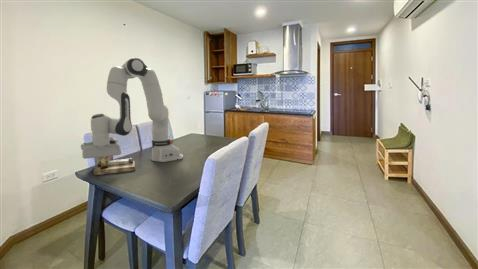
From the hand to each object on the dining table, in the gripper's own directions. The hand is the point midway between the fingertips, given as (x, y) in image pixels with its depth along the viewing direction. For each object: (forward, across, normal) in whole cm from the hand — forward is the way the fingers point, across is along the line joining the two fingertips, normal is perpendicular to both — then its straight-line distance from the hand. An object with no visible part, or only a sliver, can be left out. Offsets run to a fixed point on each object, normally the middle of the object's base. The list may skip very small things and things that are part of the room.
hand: (103, 163), depth 143 cm
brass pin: (+3, 0, 0) cm, 3 cm away
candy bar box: (+6, 0, +14) cm, 15 cm away
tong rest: (+5, +6, +1) cm, 8 cm away
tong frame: (+3, +7, +4) cm, 8 cm away
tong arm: (+2, +5, +3) cm, 7 cm away
